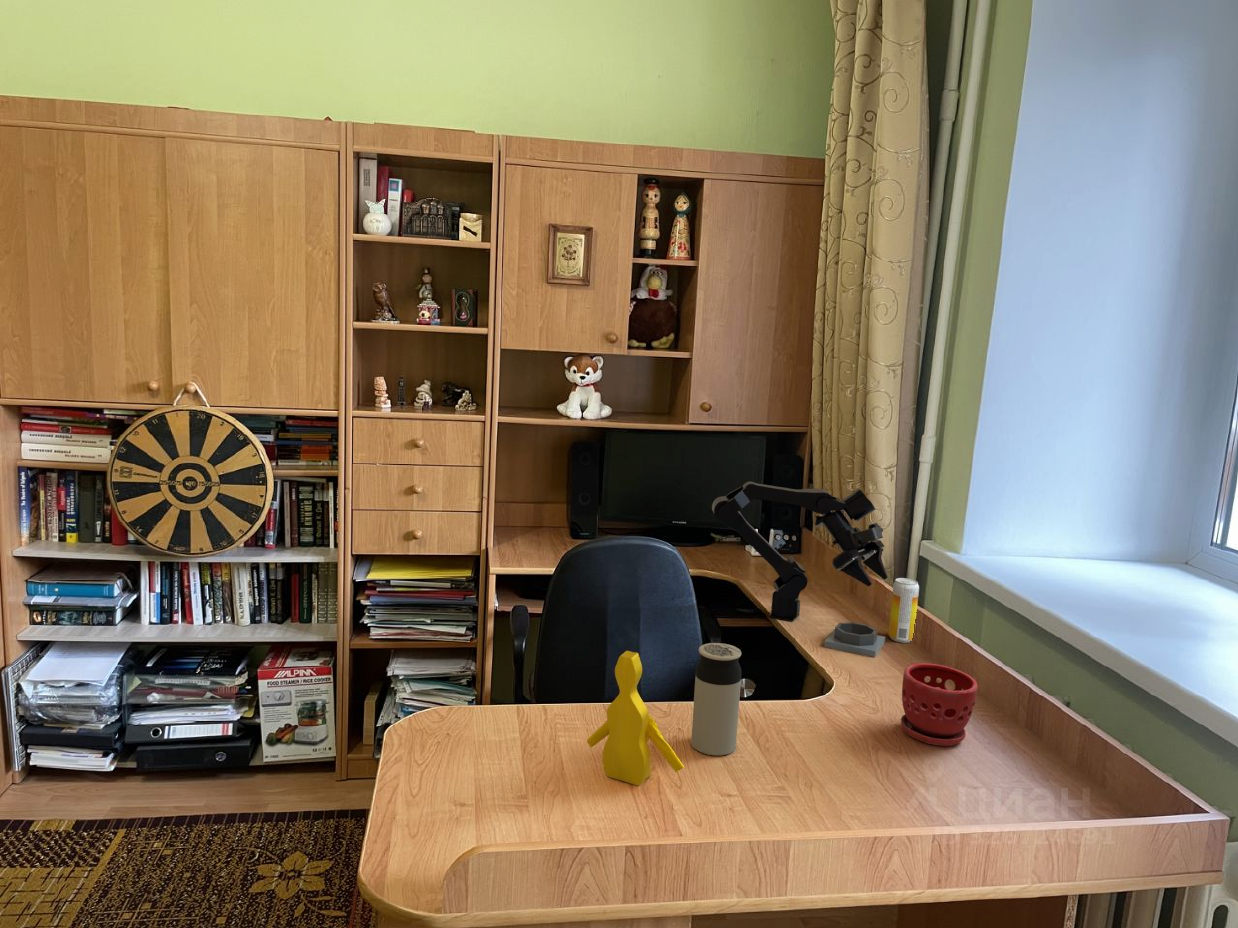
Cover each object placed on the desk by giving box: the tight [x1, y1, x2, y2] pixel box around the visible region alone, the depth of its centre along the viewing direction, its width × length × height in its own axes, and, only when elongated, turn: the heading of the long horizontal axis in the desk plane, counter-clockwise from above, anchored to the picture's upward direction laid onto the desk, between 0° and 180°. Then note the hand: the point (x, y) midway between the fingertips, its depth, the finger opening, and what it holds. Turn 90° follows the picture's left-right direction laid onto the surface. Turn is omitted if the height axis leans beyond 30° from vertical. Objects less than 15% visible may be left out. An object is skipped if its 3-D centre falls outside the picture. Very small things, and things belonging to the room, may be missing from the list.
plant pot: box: [900, 662, 979, 747], centre depth 165 cm, size 13×13×12 cm
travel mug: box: [690, 642, 742, 757], centre depth 155 cm, size 8×8×18 cm
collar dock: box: [823, 621, 886, 658], centre depth 213 cm, size 12×12×4 cm
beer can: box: [888, 577, 920, 644], centre depth 218 cm, size 6×6×15 cm
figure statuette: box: [586, 650, 685, 787], centre depth 143 cm, size 18×8×22 cm, turn 63°
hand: (878, 582), depth 222 cm, fingers open, 9 cm apart
